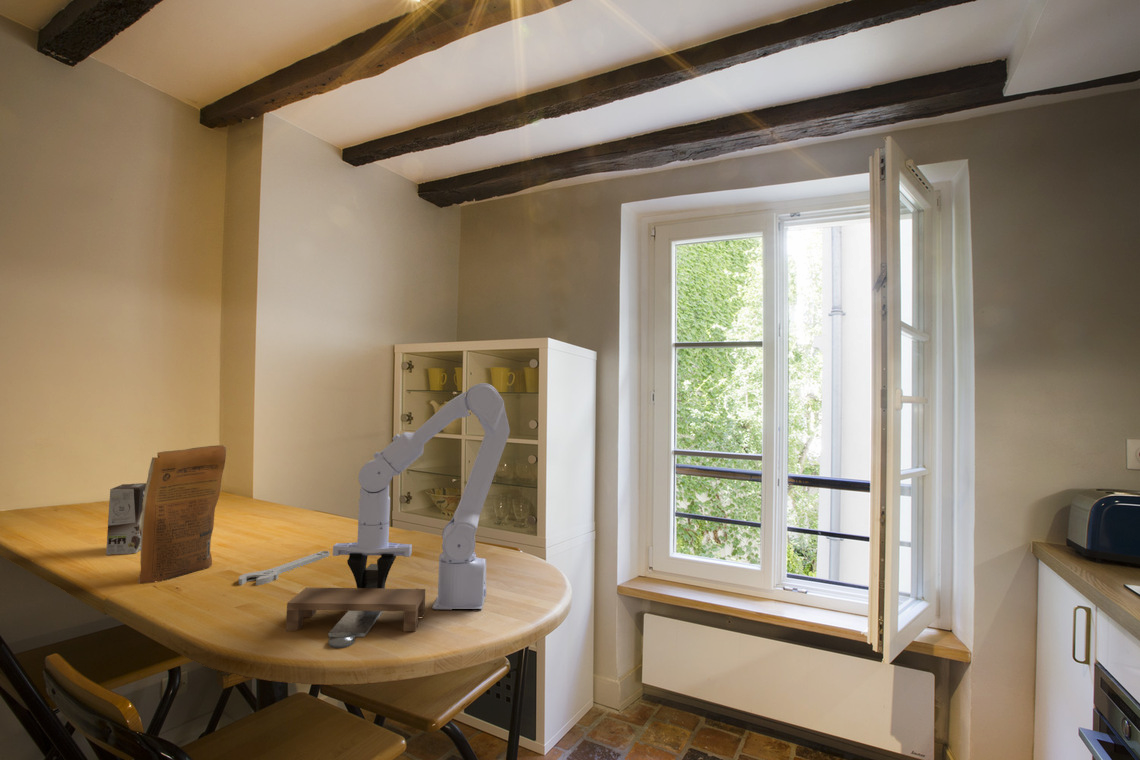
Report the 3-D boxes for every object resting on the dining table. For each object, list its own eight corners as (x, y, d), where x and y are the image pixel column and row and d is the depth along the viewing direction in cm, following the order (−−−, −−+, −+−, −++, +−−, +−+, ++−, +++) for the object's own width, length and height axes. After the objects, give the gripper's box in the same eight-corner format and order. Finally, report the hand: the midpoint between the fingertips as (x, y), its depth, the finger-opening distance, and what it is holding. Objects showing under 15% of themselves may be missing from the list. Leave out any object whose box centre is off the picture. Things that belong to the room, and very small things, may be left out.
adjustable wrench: (323, 556, 144) (323, 549, 144) (343, 560, 142) (343, 552, 142) (233, 584, 121) (233, 576, 121) (255, 589, 119) (255, 580, 119)
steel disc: (358, 640, 96) (359, 633, 96) (347, 650, 92) (347, 643, 92) (336, 638, 96) (336, 631, 96) (323, 648, 92) (324, 641, 92)
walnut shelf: (424, 614, 107) (425, 589, 107) (415, 631, 99) (416, 604, 99) (305, 612, 106) (306, 587, 106) (285, 630, 98) (287, 602, 98)
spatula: (392, 599, 114) (393, 564, 114) (364, 637, 96) (366, 595, 96) (361, 598, 114) (363, 563, 114) (328, 636, 96) (330, 594, 96)
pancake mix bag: (230, 564, 134) (236, 445, 135) (145, 588, 116) (153, 451, 117) (210, 560, 136) (216, 443, 137) (124, 584, 118) (131, 449, 119)
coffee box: (137, 553, 140) (140, 487, 140) (104, 555, 137) (108, 488, 138) (148, 544, 148) (152, 482, 149) (118, 546, 146) (122, 483, 146)
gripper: (416, 518, 114) (413, 586, 114) (342, 517, 114) (340, 585, 113) (408, 526, 107) (405, 599, 107) (329, 525, 107) (326, 598, 106)
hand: (371, 593), depth 110 cm, fingers closed on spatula, 3 cm apart
